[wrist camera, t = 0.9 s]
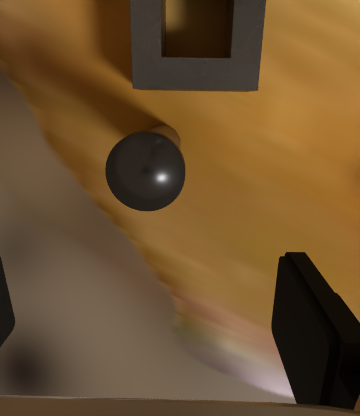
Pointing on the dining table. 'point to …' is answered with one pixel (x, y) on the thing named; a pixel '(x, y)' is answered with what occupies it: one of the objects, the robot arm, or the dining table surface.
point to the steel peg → (147, 169)
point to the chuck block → (197, 67)
